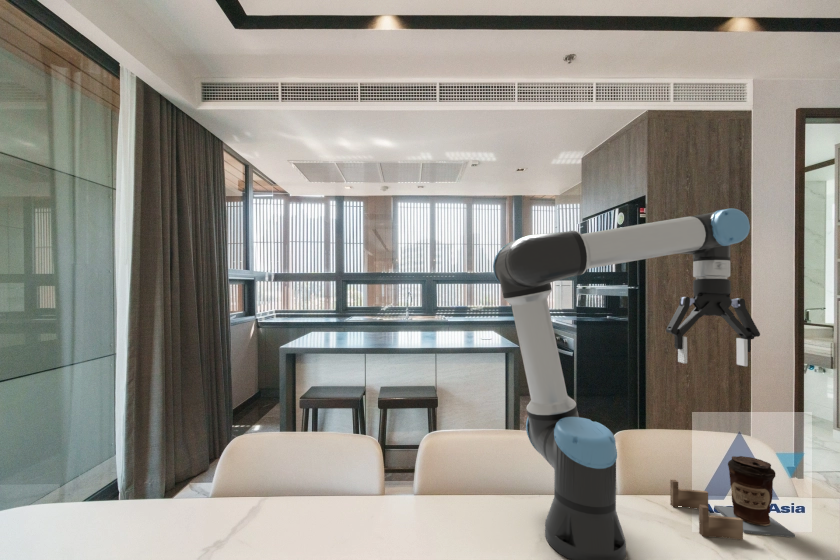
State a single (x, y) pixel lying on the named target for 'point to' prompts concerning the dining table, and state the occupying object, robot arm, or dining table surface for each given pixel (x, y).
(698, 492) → the cup holder rails
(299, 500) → the dining table surface
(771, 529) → the coaster
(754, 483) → the coffee cup
